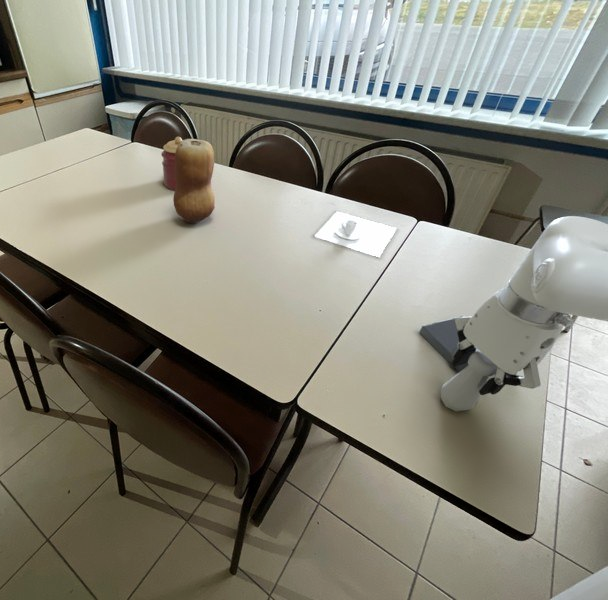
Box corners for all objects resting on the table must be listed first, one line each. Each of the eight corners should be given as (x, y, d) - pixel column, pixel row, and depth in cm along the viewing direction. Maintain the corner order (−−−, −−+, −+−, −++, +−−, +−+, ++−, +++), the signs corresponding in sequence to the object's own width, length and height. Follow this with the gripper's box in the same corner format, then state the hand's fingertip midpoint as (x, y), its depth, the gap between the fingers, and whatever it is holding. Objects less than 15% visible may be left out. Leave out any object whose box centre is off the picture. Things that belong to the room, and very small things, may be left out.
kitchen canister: (186, 174, 149) (185, 129, 138) (203, 186, 141) (203, 138, 129) (158, 181, 144) (153, 135, 132) (173, 194, 136) (170, 145, 124)
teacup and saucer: (341, 224, 120) (344, 212, 117) (365, 231, 116) (369, 219, 113) (331, 235, 114) (334, 224, 111) (356, 243, 111) (360, 232, 108)
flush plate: (512, 370, 75) (523, 357, 73) (465, 384, 73) (475, 371, 70) (457, 322, 86) (465, 310, 83) (415, 333, 83) (422, 320, 80)
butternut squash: (217, 227, 118) (219, 148, 101) (176, 231, 116) (170, 151, 100) (210, 207, 128) (211, 132, 111) (172, 210, 127) (167, 135, 110)
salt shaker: (450, 385, 72) (483, 341, 64) (477, 408, 69) (516, 364, 60) (429, 396, 71) (460, 352, 62) (456, 420, 67) (493, 377, 58)
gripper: (615, 338, 47) (533, 413, 59) (501, 263, 60) (451, 338, 72) (572, 351, 46) (496, 426, 58) (464, 271, 58) (420, 346, 70)
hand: (472, 376), depth 64 cm, fingers open, 5 cm apart
